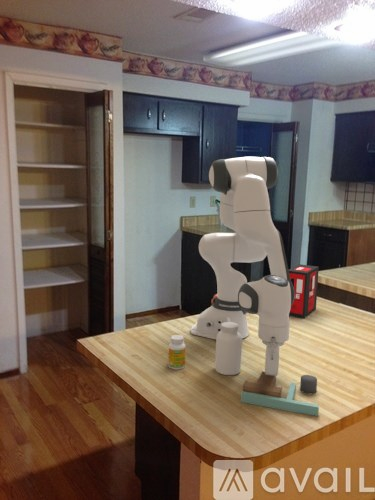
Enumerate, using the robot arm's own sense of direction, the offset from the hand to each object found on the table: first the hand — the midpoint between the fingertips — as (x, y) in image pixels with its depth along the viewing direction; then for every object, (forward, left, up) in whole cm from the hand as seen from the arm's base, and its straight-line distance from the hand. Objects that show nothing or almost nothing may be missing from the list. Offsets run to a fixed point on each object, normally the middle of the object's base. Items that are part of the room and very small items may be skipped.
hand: (271, 376), depth 130 cm
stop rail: (+4, -9, -2) cm, 10 cm away
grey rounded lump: (+11, -1, -2) cm, 11 cm away
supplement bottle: (-30, 0, -2) cm, 30 cm away
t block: (-1, -7, -2) cm, 7 cm away
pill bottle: (-14, +3, -2) cm, 14 cm away
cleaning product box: (+2, +73, -2) cm, 73 cm away
